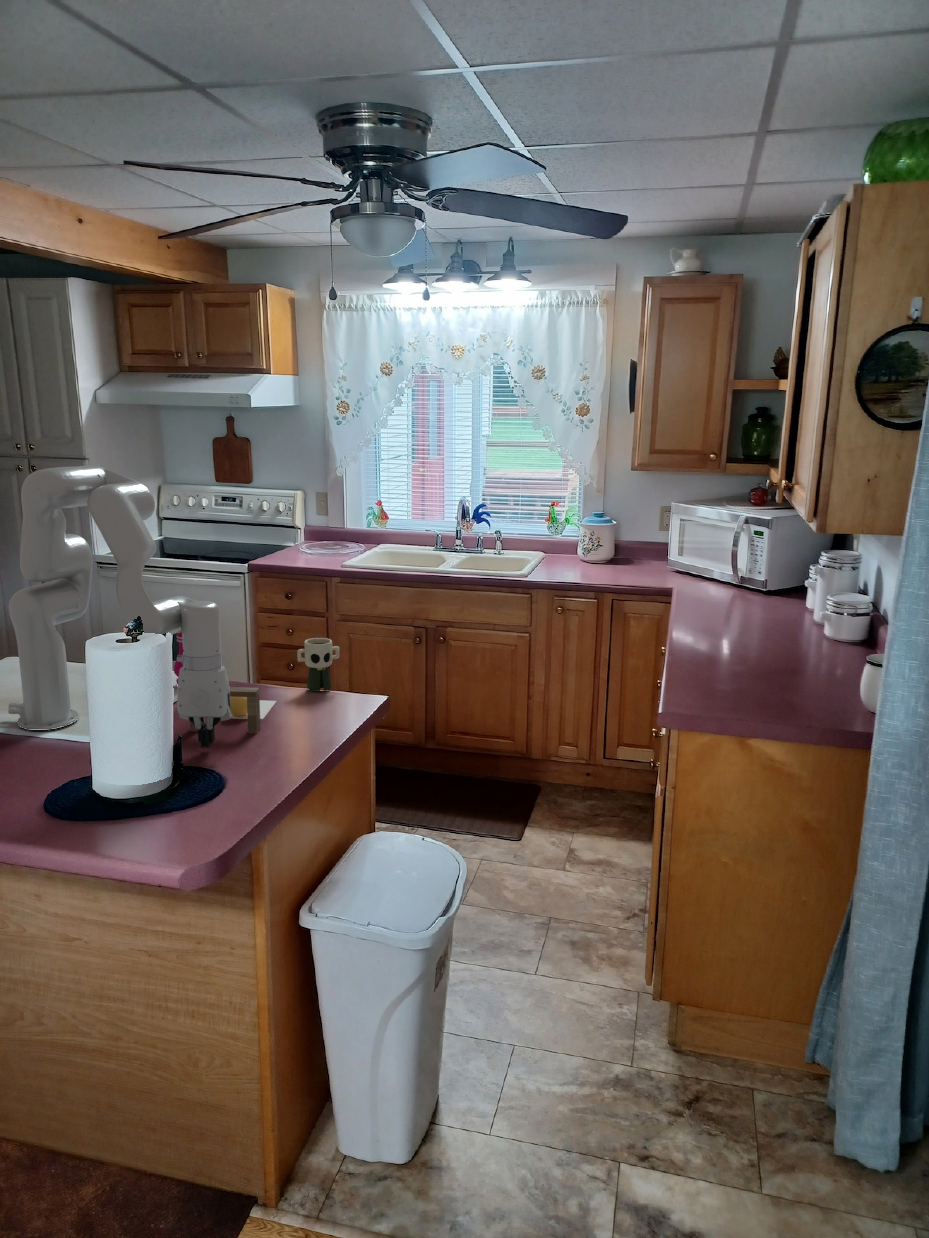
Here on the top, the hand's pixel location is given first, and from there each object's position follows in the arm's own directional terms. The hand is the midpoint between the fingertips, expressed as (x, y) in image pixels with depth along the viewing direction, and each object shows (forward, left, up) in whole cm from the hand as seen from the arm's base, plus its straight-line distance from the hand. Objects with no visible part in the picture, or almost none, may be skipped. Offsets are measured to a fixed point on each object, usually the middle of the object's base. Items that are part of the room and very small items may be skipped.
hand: (206, 745), depth 186 cm
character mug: (+15, +44, -2) cm, 47 cm away
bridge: (0, +13, -2) cm, 13 cm away
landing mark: (0, +27, -2) cm, 27 cm away
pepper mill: (-19, +44, -2) cm, 48 cm away
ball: (0, +23, +2) cm, 23 cm away
